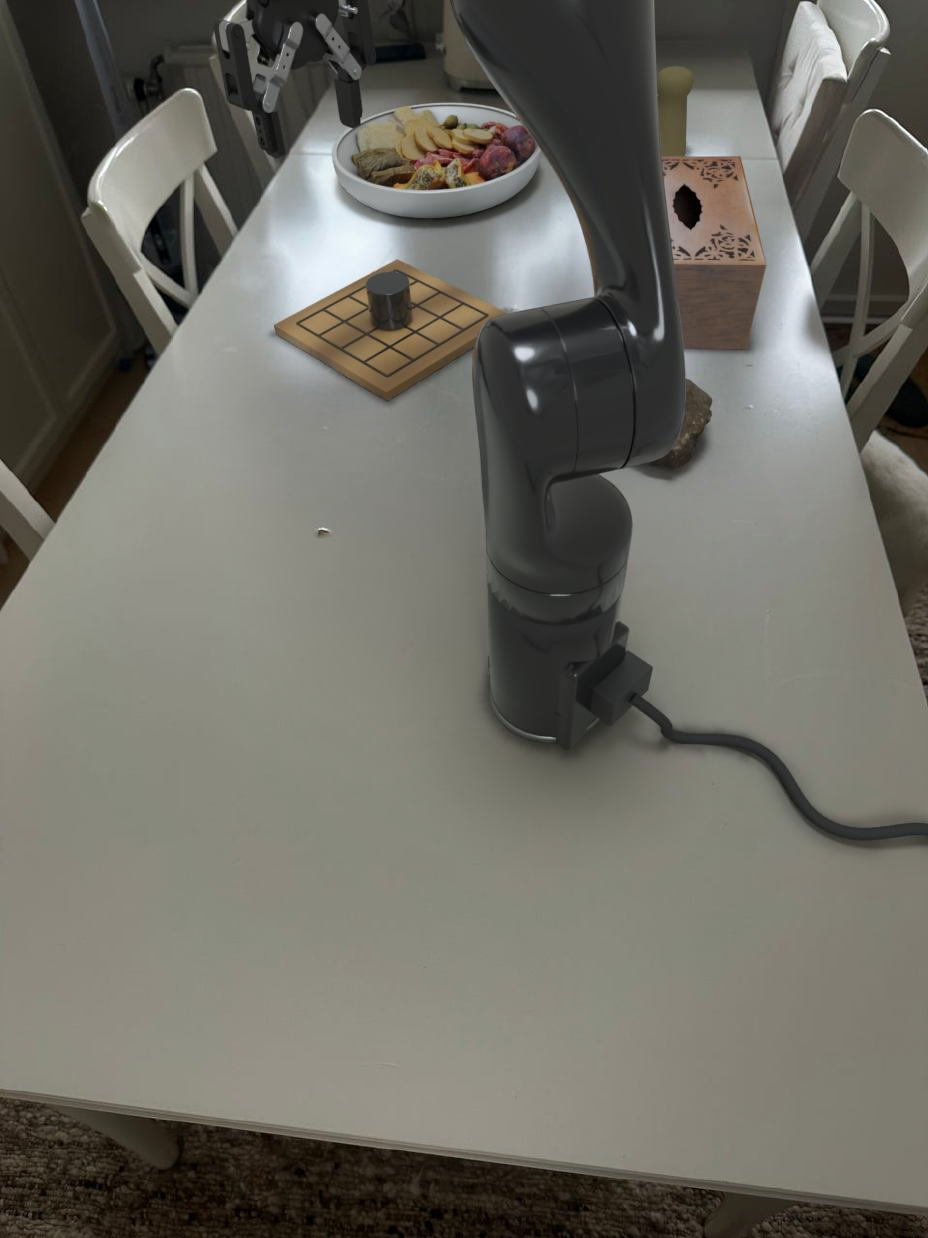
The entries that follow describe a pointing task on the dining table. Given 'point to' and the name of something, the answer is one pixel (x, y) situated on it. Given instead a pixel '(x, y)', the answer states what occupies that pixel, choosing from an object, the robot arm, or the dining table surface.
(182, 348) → the dining table surface
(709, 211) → the tissue box cover
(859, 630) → the dining table surface
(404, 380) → the board
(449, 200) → the bowl
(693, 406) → the stone
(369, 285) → the dark grey short cylinder
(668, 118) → the pepper shaker
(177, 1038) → the dining table surface
